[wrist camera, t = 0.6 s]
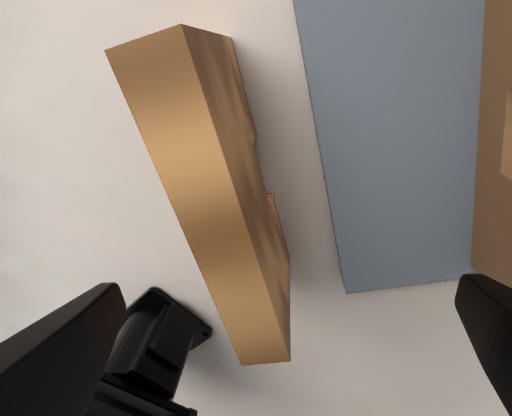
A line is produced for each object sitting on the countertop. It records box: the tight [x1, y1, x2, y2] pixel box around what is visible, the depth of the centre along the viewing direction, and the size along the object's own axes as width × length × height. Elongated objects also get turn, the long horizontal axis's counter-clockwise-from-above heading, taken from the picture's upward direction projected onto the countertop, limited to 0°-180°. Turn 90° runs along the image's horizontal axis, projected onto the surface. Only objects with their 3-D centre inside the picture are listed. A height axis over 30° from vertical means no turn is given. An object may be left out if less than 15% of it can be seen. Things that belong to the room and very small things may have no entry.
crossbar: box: [104, 24, 291, 366], centre depth 15 cm, size 14×2×8 cm, turn 15°
